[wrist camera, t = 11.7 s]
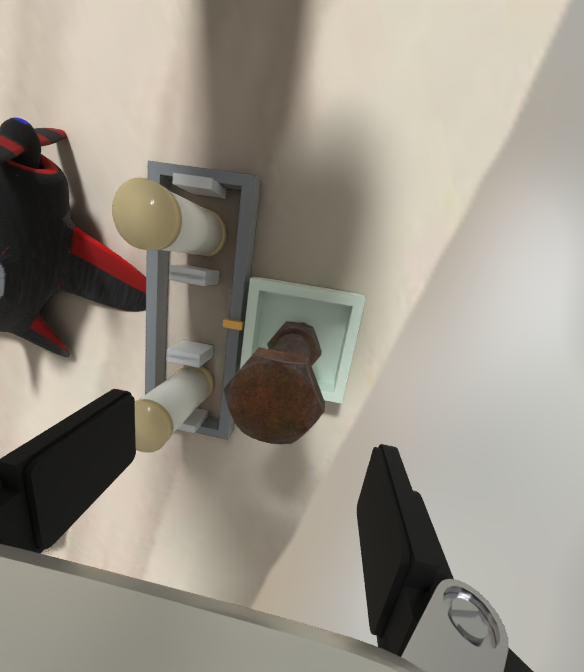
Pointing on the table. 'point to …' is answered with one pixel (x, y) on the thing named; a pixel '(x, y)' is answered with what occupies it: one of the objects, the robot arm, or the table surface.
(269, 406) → the bolt
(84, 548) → the table surface
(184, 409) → the fuse outer
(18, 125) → the toy airplane
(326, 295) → the tray
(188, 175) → the block
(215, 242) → the ball
